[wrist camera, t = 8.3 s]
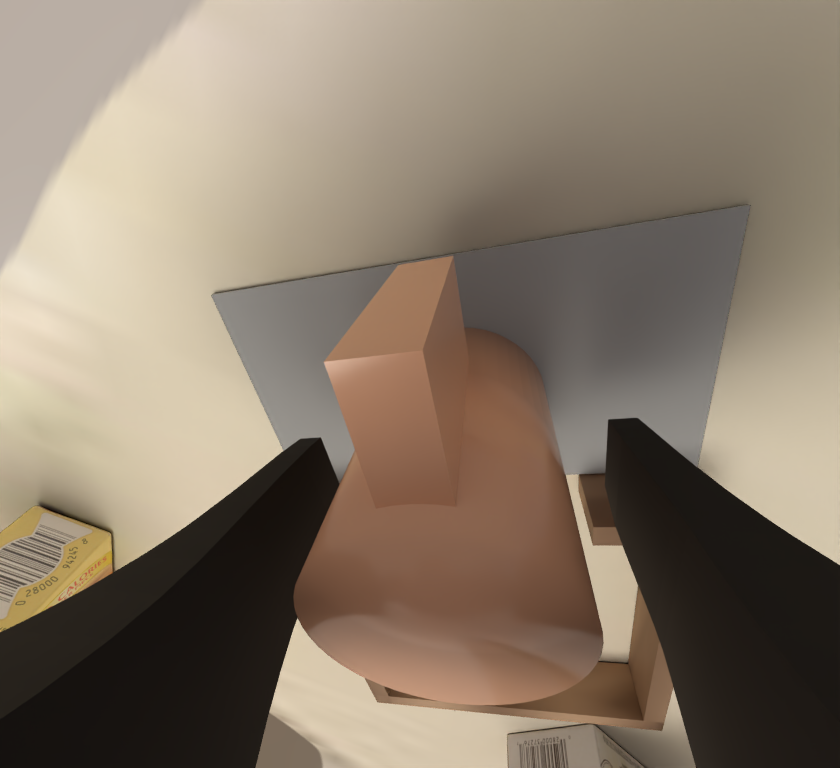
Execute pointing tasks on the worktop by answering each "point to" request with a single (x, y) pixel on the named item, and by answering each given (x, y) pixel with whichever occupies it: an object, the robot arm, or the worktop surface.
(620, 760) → the coffee box
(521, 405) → the jug
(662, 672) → the jug holder
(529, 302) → the mat
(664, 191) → the worktop surface
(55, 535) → the candy box
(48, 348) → the worktop surface
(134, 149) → the worktop surface
